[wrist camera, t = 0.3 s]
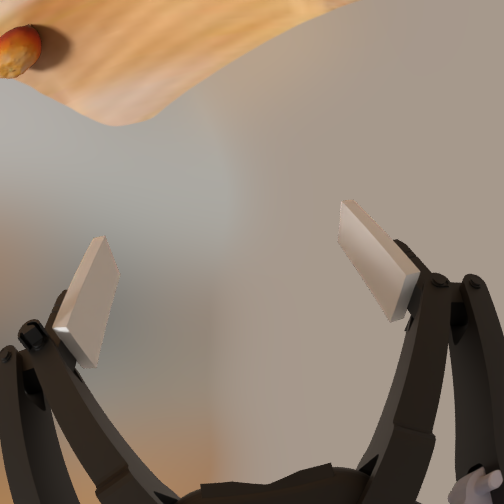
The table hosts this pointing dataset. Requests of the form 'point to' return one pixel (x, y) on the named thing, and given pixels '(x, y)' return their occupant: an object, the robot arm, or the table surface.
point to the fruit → (18, 51)
